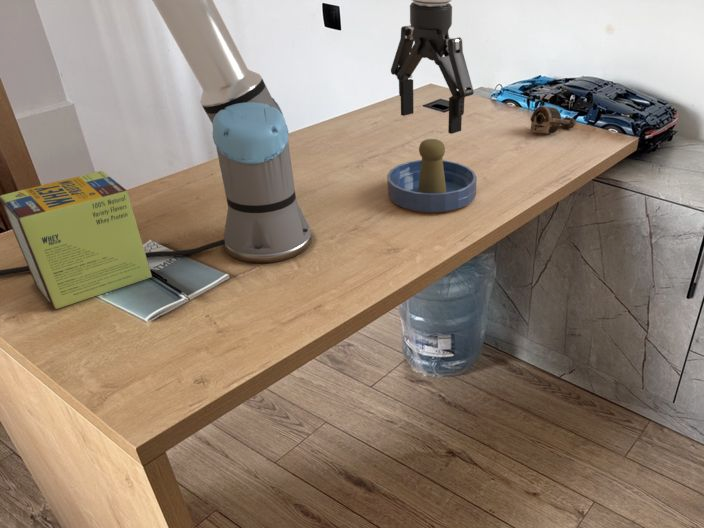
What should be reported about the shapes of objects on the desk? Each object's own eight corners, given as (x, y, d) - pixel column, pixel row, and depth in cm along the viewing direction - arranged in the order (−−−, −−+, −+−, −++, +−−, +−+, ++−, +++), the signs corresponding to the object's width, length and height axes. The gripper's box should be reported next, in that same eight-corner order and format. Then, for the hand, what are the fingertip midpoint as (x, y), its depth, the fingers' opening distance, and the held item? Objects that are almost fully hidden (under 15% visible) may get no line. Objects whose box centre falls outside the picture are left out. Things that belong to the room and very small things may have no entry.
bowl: (429, 224, 131) (429, 202, 128) (370, 195, 141) (369, 174, 138) (493, 197, 141) (494, 177, 139) (433, 172, 151) (433, 153, 149)
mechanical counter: (522, 105, 175) (536, 108, 166) (568, 98, 177) (584, 100, 168) (525, 134, 178) (539, 138, 169) (569, 126, 180) (585, 130, 172)
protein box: (154, 277, 112) (128, 189, 103) (55, 310, 103) (17, 218, 94) (128, 254, 118) (102, 169, 109) (33, 284, 109) (-4, 194, 100)
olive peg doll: (428, 184, 144) (427, 133, 137) (452, 191, 141) (452, 139, 135) (412, 194, 140) (410, 142, 133) (436, 201, 137) (436, 148, 131)
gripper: (497, 11, 114) (490, 135, 127) (400, -10, 128) (402, 103, 141) (466, 16, 110) (462, 144, 123) (369, -7, 124) (374, 110, 136)
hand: (430, 123), depth 132 cm, fingers open, 13 cm apart
